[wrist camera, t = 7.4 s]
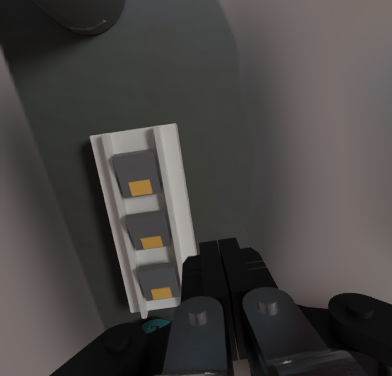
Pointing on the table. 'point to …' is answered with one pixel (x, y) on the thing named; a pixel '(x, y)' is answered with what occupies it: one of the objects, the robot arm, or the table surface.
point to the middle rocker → (148, 229)
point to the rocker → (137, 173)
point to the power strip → (147, 207)
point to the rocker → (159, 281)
